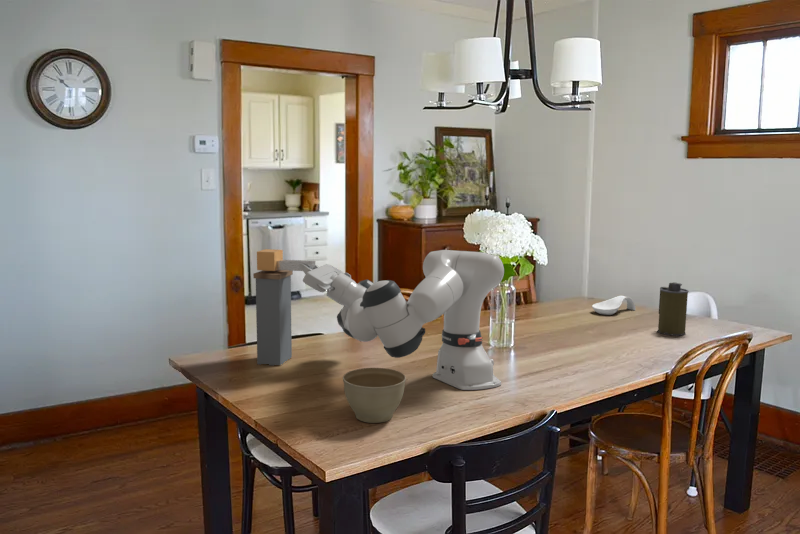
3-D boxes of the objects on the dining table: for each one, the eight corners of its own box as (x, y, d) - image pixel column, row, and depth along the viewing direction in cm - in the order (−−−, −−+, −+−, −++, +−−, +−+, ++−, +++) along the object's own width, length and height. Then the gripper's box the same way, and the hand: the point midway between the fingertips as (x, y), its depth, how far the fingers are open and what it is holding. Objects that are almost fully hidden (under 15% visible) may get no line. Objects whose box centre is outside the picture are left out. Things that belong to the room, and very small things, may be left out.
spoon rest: (606, 318, 302) (607, 301, 301) (586, 313, 312) (586, 297, 311) (641, 312, 315) (642, 296, 314) (620, 307, 324) (621, 292, 323)
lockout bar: (317, 269, 225) (317, 250, 225) (310, 272, 219) (309, 253, 218) (266, 267, 229) (265, 249, 228) (257, 270, 223) (256, 251, 222)
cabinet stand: (293, 357, 234) (292, 269, 230) (281, 366, 223) (279, 274, 219) (268, 355, 236) (267, 268, 231) (255, 364, 225) (253, 273, 221)
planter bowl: (332, 423, 174) (332, 381, 173) (358, 403, 189) (358, 365, 188) (391, 432, 169) (391, 389, 167) (413, 411, 184) (414, 371, 182)
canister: (691, 333, 274) (694, 283, 271) (675, 337, 268) (678, 286, 265) (666, 328, 282) (670, 279, 280) (651, 331, 277) (654, 282, 274)
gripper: (323, 301, 212) (286, 277, 213) (343, 289, 231) (308, 268, 233) (333, 284, 210) (295, 260, 212) (352, 274, 230) (317, 252, 232)
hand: (302, 264), depth 223 cm, fingers closed on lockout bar, 3 cm apart
